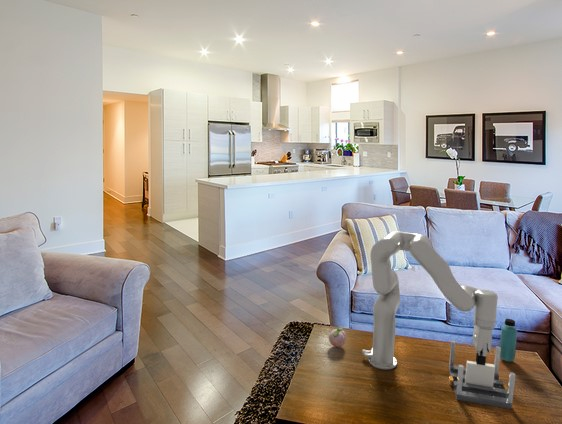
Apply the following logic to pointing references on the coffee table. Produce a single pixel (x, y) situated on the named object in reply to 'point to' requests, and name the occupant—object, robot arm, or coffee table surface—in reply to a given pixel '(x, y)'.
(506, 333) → the beverage bottle
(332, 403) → the coffee table surface
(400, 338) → the coffee table surface
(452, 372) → the rack
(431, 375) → the coffee table surface
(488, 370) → the block
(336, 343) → the decorative fruit
